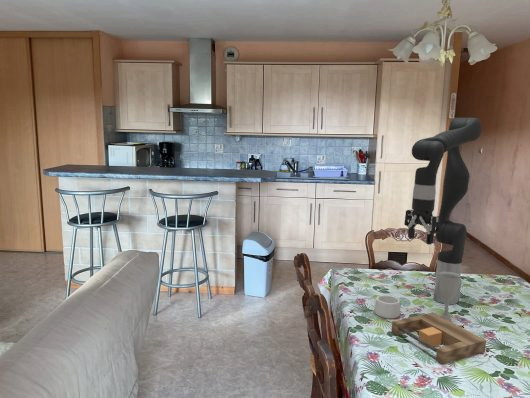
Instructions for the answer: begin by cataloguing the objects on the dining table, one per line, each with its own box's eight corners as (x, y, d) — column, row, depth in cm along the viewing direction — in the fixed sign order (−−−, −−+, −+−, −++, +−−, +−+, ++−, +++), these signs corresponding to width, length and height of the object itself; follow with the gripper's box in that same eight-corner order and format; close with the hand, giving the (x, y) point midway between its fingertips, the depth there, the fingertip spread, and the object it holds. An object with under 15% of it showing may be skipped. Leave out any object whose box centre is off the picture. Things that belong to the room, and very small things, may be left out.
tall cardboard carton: (431, 339, 141) (432, 326, 140) (440, 344, 137) (442, 332, 137) (418, 342, 138) (419, 330, 138) (427, 348, 135) (428, 335, 134)
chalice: (455, 318, 157) (459, 273, 154) (456, 326, 150) (462, 279, 147) (434, 315, 159) (438, 270, 156) (435, 323, 153) (439, 276, 150)
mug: (395, 321, 153) (396, 306, 152) (370, 314, 159) (371, 299, 158) (405, 310, 163) (406, 296, 162) (381, 304, 168) (382, 290, 167)
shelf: (431, 322, 153) (432, 312, 152) (484, 351, 133) (486, 340, 133) (391, 332, 145) (392, 321, 144) (442, 364, 125) (443, 352, 125)
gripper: (447, 199, 143) (443, 245, 146) (416, 193, 156) (413, 235, 159) (431, 200, 140) (427, 247, 143) (401, 194, 153) (398, 237, 156)
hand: (419, 241), depth 151 cm, fingers open, 8 cm apart
